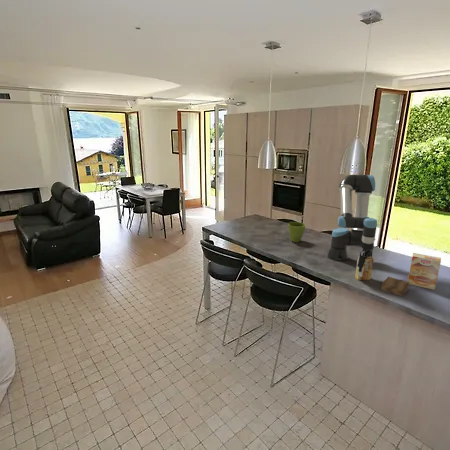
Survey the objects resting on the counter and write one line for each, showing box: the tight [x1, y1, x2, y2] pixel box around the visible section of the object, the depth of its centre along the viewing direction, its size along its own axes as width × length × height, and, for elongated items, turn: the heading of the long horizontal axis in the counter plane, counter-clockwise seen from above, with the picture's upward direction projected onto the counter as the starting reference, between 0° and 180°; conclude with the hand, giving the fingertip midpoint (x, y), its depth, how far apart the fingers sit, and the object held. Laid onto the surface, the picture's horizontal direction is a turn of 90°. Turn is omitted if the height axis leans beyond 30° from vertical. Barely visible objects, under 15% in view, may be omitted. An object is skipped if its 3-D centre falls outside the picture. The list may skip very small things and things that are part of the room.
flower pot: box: [287, 221, 306, 243], centre depth 273 cm, size 15×15×16 cm
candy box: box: [354, 256, 374, 281], centre depth 201 cm, size 9×4×15 cm, turn 93°
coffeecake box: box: [407, 252, 442, 291], centre depth 192 cm, size 15×7×20 cm, turn 56°
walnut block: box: [381, 276, 410, 297], centre depth 188 cm, size 12×12×5 cm
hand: (363, 273), depth 202 cm, fingers open, 9 cm apart
